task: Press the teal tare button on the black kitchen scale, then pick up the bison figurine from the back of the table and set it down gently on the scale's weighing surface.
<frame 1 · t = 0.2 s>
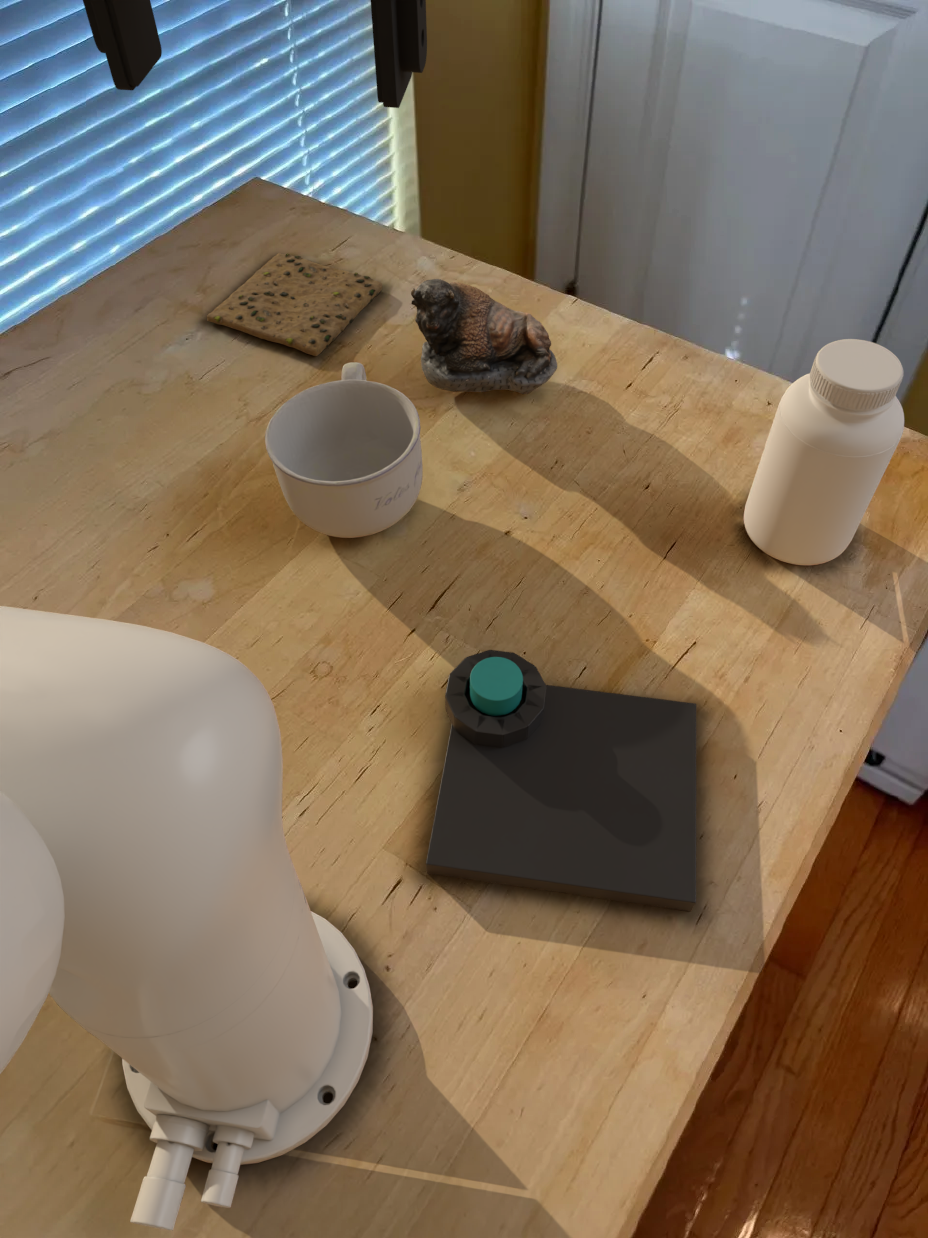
hand: (267, 81, 34), 36 cm above the table, tool pointing down, fingers open, 9 cm apart
tare button: (496, 686, 57), point 4 cm above the table, slide at 0.1 cm
pill bottle: (794, 530, 70), on the table
teacup: (359, 493, 73), on the table
scale: (566, 789, 57), on the table
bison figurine: (486, 388, 80), on the table
cookie: (296, 305, 87), on the table
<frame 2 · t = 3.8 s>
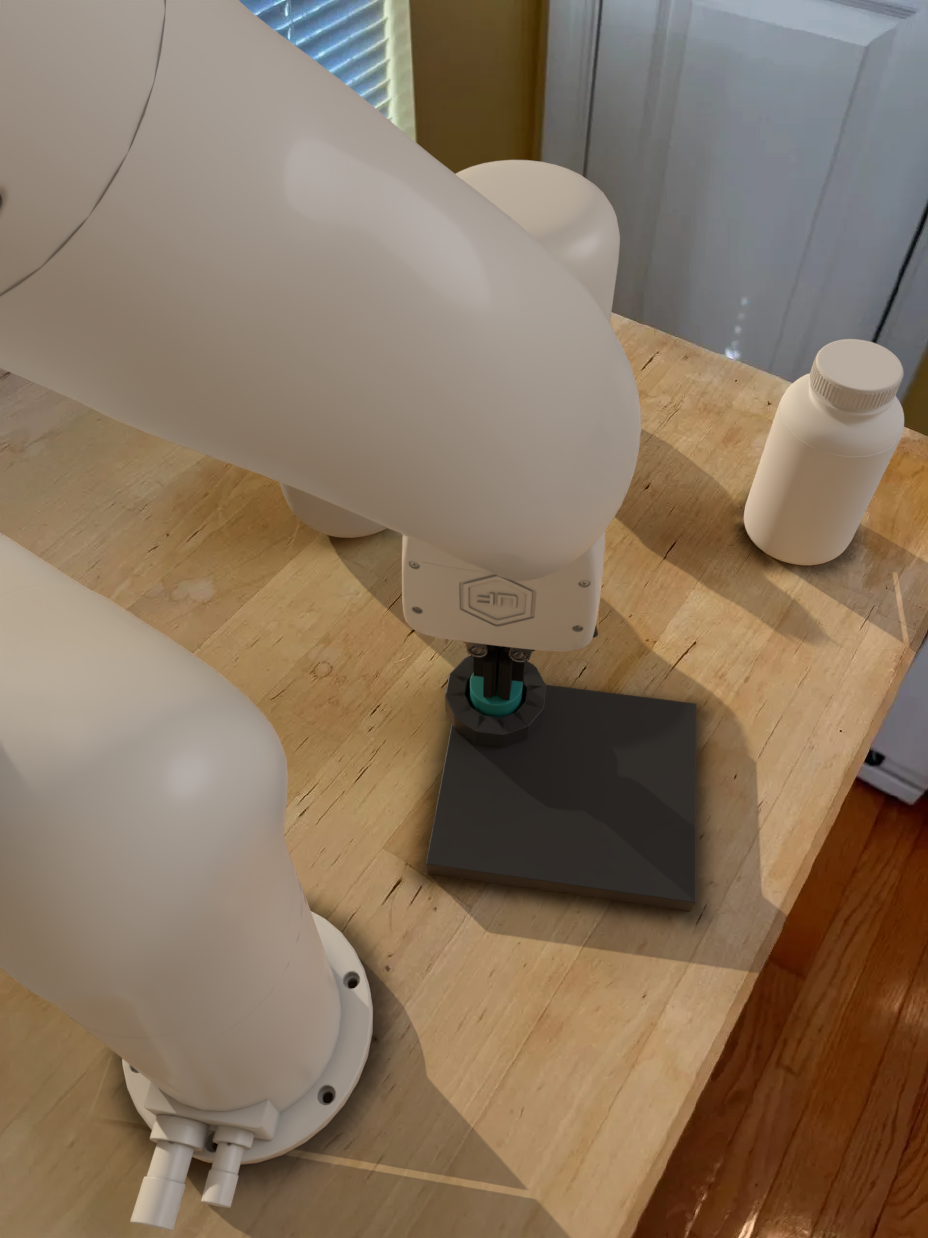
hand: (499, 678, 57), 4 cm above the table, tool pointing down, fingers closed
tare button: (495, 690, 58), point 3 cm above the table, slide at -0.4 cm, touching gripper
everything else where it was.
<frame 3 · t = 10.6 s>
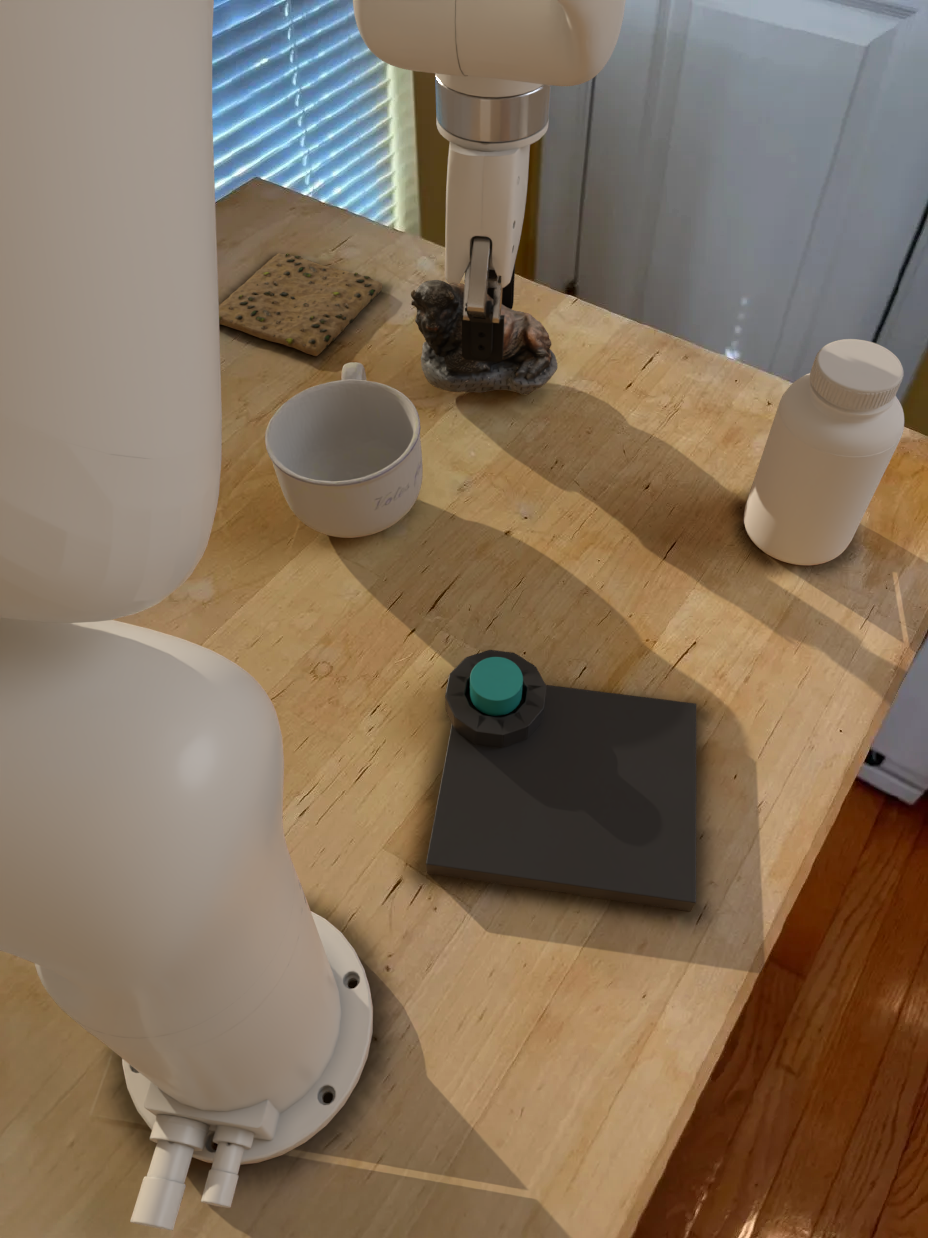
hand: (488, 330, 76), 5 cm above the table, tool pointing down, fingers closed on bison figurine, 6 cm apart
tare button: (496, 686, 57), point 4 cm above the table, slide at 0.1 cm
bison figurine: (486, 387, 80), on the table, touching gripper
everything else where it was.
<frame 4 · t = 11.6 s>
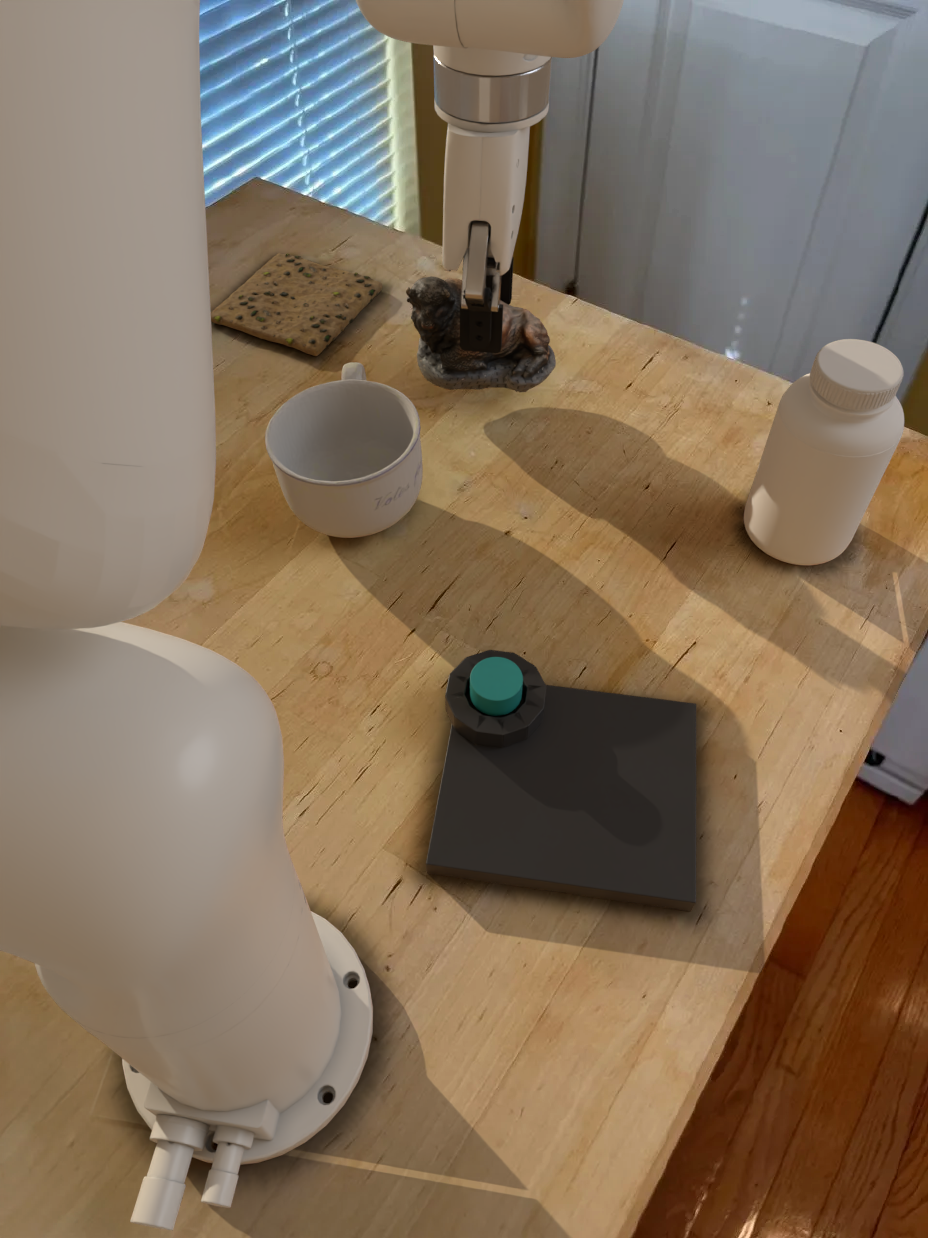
hand: (486, 323, 75), 7 cm above the table, tool pointing down, fingers closed on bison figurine, 5 cm apart
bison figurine: (483, 383, 79), point 1 cm above the table, touching gripper
everything else where it was.
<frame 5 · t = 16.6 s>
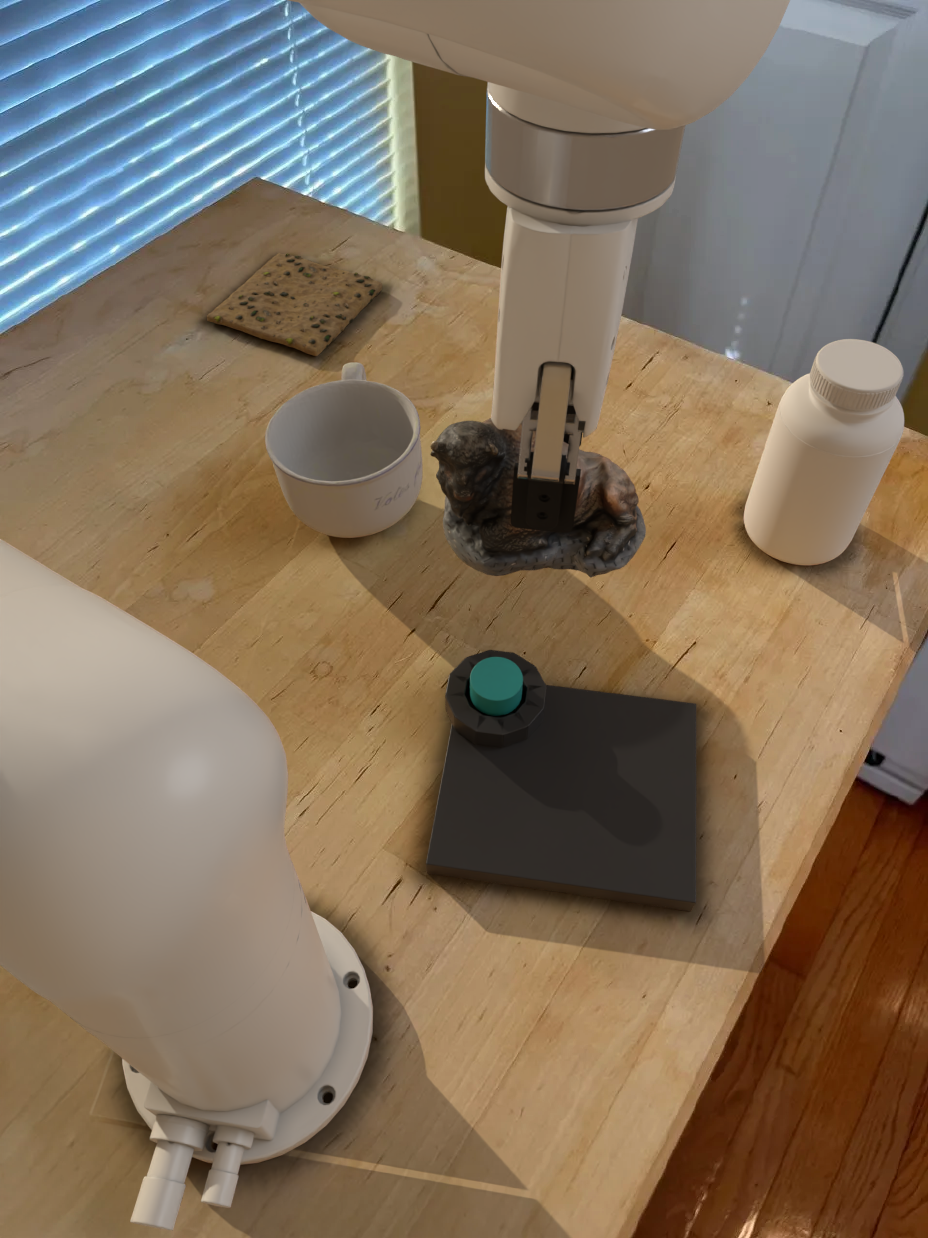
hand: (547, 481, 50), 16 cm above the table, tool pointing down, fingers closed on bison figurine, 5 cm apart
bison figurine: (537, 555, 55), point 10 cm above the table, touching gripper
everything else where it was.
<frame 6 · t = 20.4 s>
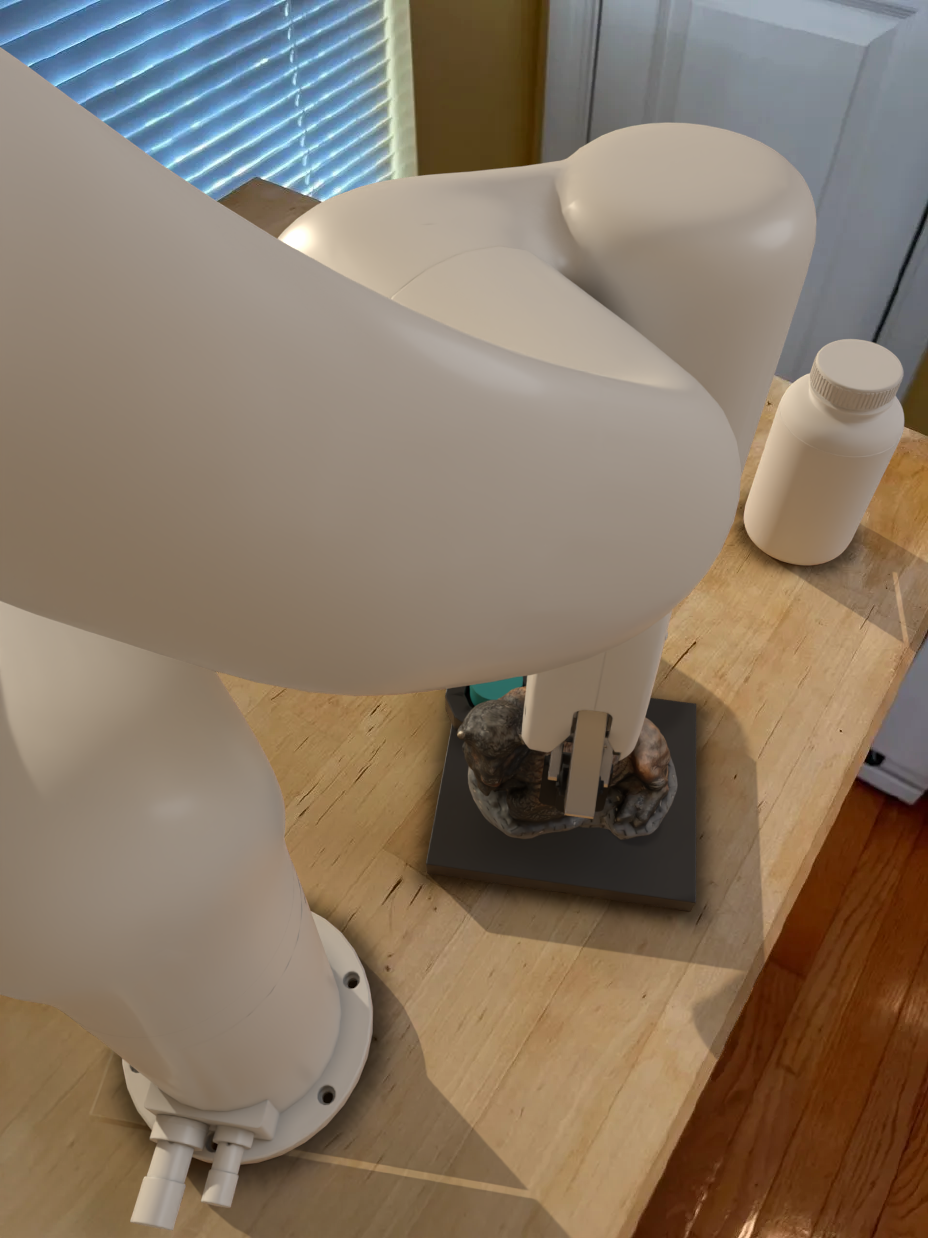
hand: (576, 745, 49), 9 cm above the table, tool pointing down, fingers closed on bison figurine, 5 cm apart
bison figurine: (564, 800, 53), point 3 cm above the table, touching gripper
everything else where it was.
when the fingers open (7 cm above the table, at t = 21.5 s): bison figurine stays where it is, resting on scale.
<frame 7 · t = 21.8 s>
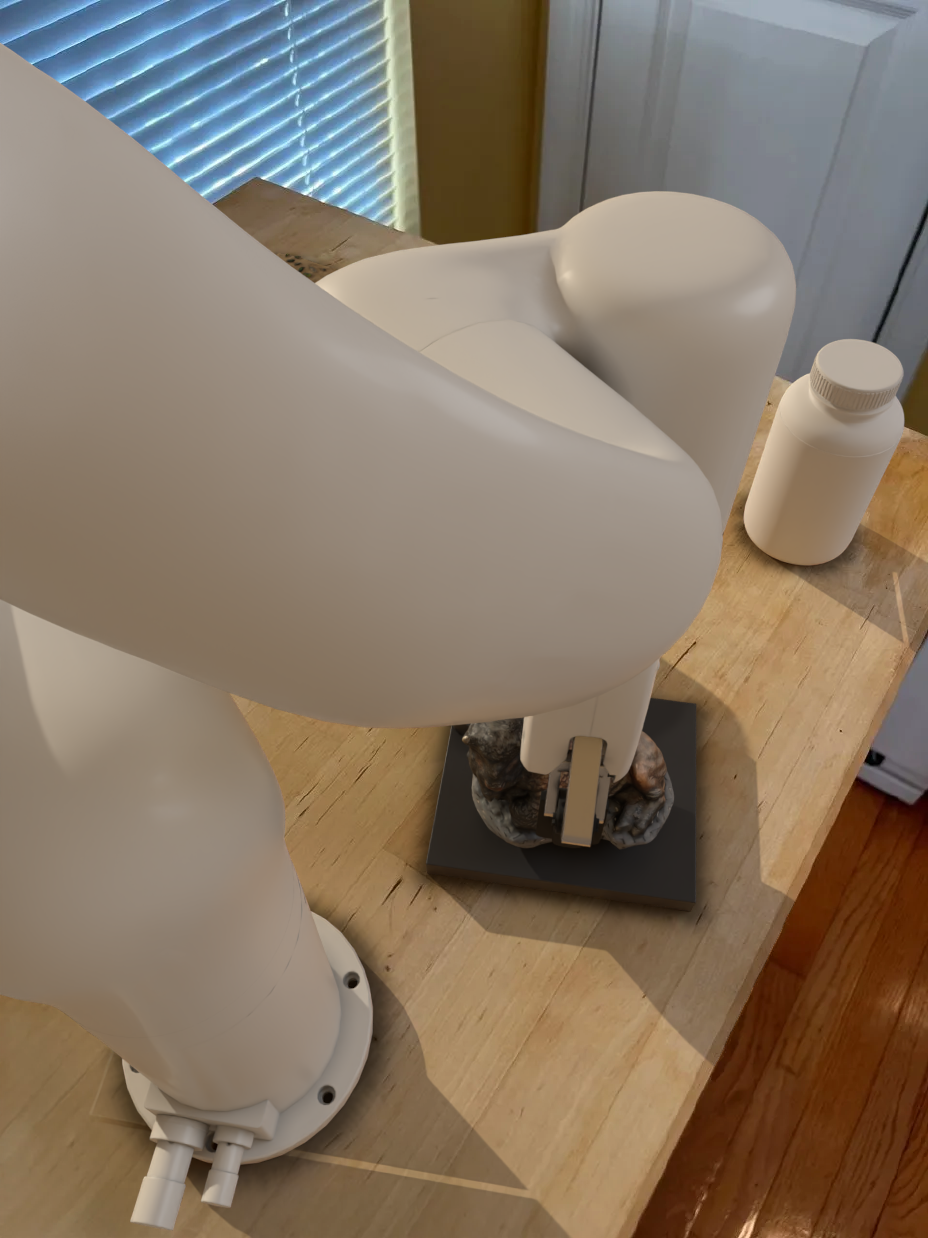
hand: (574, 759, 50), 7 cm above the table, tool pointing down, fingers open, 8 cm apart
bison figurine: (565, 814, 55), point 1 cm above the table, touching scale
everything else where it was.
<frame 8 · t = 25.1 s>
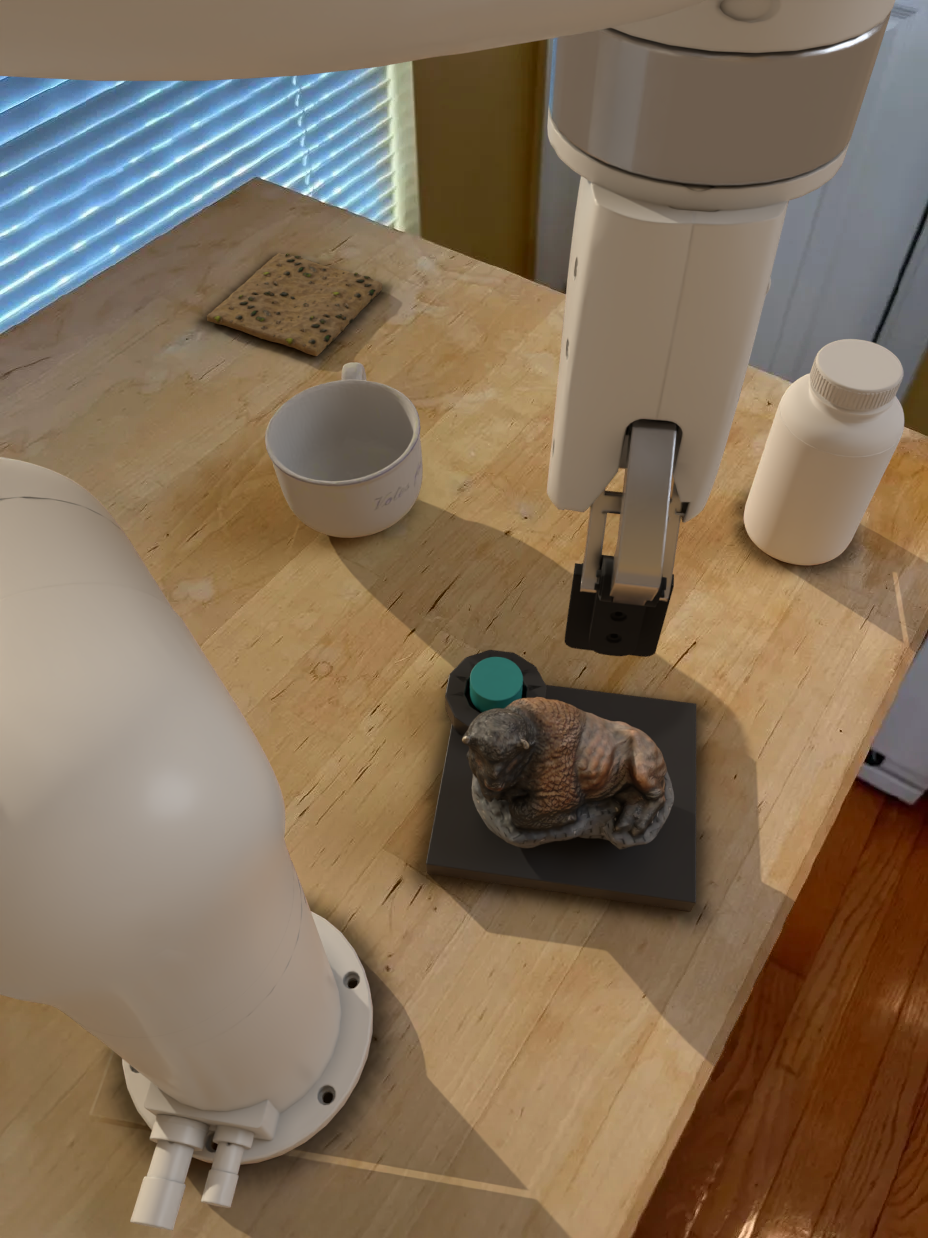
hand: (616, 545, 36), 24 cm above the table, tool pointing down, fingers open, 9 cm apart
nothing on the table moved.
at the end: tare button pushed in 0.9 cm at the most during the clip, back to where it started at the end; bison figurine inside the target area on the scale (0.7 cm from its centre), point 1.2 cm above the scale's base; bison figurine tilted 0° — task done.
